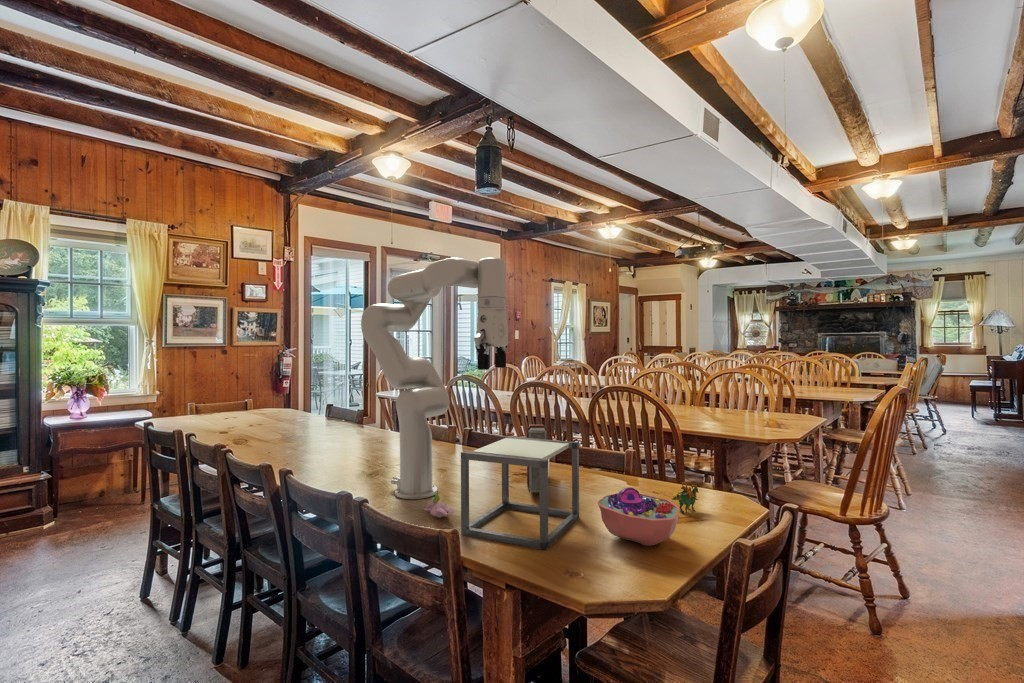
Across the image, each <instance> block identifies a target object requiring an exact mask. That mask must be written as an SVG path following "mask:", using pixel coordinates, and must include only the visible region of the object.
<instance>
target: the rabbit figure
mask: <svg viewBox="0 0 1024 683" xmlns="http://www.w3.org/2000/svg"><path fill="white" fill-rule="evenodd" d="M433 497H434V498H433V500H432V501H431V502H428V503H426V502H425V503H424V507H423V510H424V511H425V512H427V513H430V515H431V516H432V517H436V518H438V519H441V518H443V517H446V516H447V517H448V514H450V515H454V511H455V509H454V508H453V507H451V506H448V504H447V503H444V502H439V501H440V499H441V498H440V496H439V494H438V493H437V494H435V495H434V496H433Z"/></svg>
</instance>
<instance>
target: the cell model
mask: <svg viewBox="0 0 1024 683" xmlns="http://www.w3.org/2000/svg"><path fill="white" fill-rule="evenodd" d="M597 505H598V507H599V509H600V516H601V521H602V522H603V524H604V526H605V528H606V529H607V530H608V532H609V533H610V534H611V535H612V536H615V537H616V538H619V539H622V540H626V541H633V542H636V543H639V544H641V545H643V546H647V547H649V546H650V547H651V546H654V545H658V544H660V543H663V542H665V541H667V540H669V539H670V537H672V535H673V534H674V532H675V530H676V528H677V525H678V521H679V513H680V506H678V505H676V504H675V503H674V501H673V500H672V501H671V500H669V499H668V498H667V499H666V498H662V497H657V496H654V495H649V494H645V493H640V492H639V490H637V489H635V488H634V487H624V488H622V489H620V491H619V492H617V493H613V494H607V495H604V496H603V497H602V498H600V499H598V500H597Z"/></svg>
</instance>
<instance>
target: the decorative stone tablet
mask: <svg viewBox="0 0 1024 683" xmlns="http://www.w3.org/2000/svg"><path fill="white" fill-rule="evenodd" d="M548 437H549V436H548V428H547V427H546V426H545V425H544V424H532V423H531V424H530V423H529V425H528V426H527V427H526V438H535V439H546V440H549V438H548ZM526 485H527V488H528V490H529V492H530V493H540V468H537V467H528V466H526Z"/></svg>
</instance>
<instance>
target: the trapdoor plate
mask: <svg viewBox="0 0 1024 683" xmlns="http://www.w3.org/2000/svg"><path fill="white" fill-rule="evenodd" d="M567 449H569V443H563V442H551V441H540V440H529V439H518V438H504V439H502V438H501V439H499V440H497V441H495V442H492V443H489V444H487V445H485V446H482V447H479V448H477V449H475V450H472V451H471V452H474V453H484V454H493V455H503V456H512V457H522V458H531V459H541V460H548V461H549V459H551V458H553V457H555V456H557V455H558V454H561V453H562V452H563V451H566V450H567Z"/></svg>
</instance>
